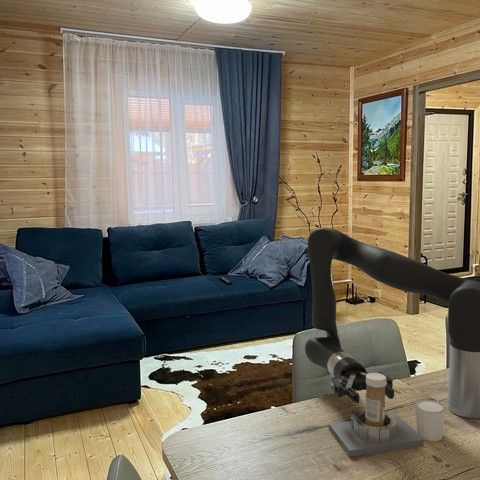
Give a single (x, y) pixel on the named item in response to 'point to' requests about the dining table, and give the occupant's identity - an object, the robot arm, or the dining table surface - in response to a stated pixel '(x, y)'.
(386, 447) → the socket plate
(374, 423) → the sprinkles bottle
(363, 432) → the stone block collar
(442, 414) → the white tapered cup
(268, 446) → the dining table surface
